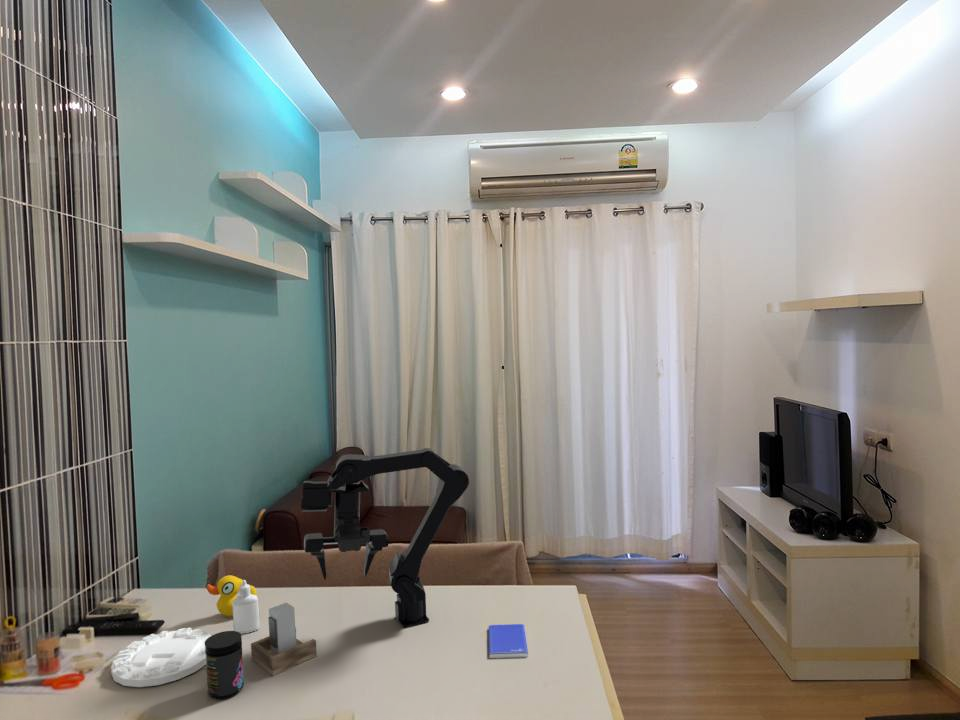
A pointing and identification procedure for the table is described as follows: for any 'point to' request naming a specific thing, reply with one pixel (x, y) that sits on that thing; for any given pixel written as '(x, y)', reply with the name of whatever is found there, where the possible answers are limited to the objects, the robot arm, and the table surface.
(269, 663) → the wooden tray
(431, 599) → the table surface
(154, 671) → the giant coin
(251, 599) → the eye dropper bottle
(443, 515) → the robot arm
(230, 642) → the supplement container
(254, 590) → the duckling
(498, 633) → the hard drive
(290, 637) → the block
